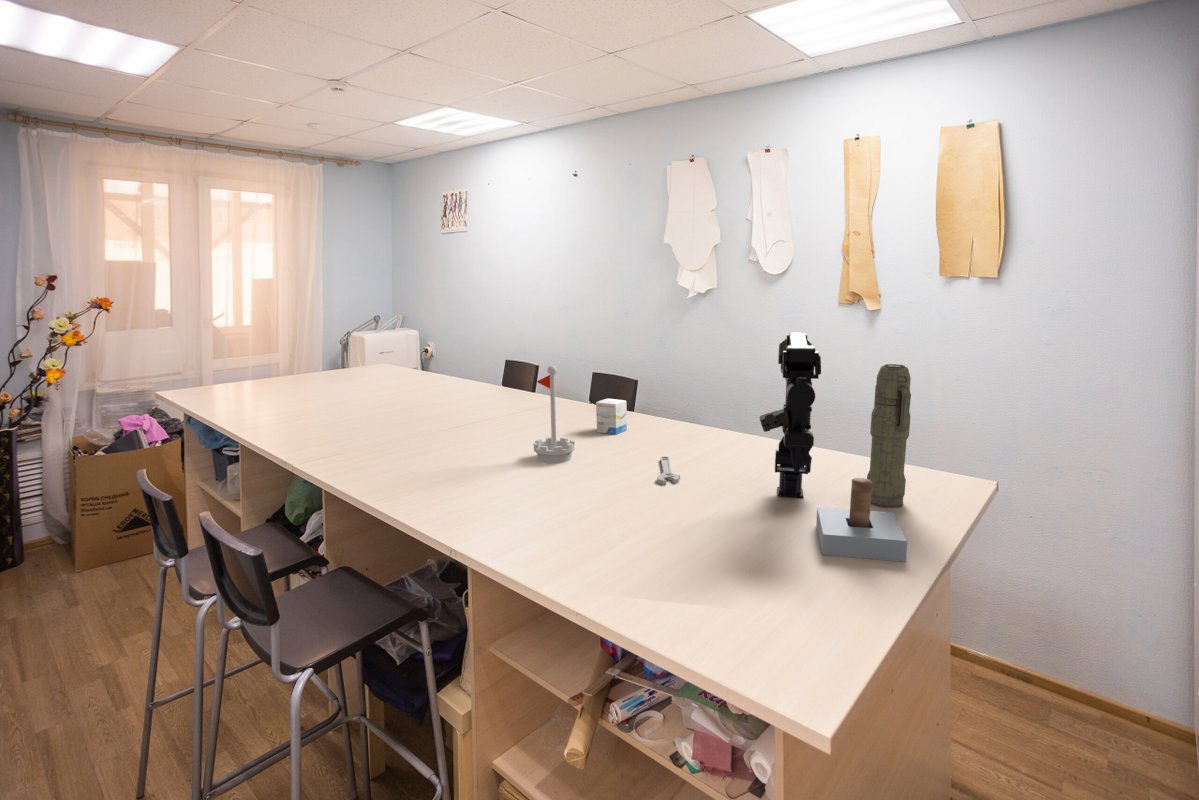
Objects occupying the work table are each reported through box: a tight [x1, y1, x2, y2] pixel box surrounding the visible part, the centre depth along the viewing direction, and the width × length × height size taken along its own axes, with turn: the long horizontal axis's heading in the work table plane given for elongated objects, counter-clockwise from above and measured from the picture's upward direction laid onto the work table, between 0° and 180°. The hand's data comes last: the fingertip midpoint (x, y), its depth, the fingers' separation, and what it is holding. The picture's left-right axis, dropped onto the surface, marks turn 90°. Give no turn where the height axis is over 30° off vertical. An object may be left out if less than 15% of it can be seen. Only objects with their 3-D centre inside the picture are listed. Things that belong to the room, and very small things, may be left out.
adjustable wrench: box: [656, 455, 681, 486], centre depth 193 cm, size 25×6×2 cm, turn 173°
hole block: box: [815, 507, 908, 563], centre depth 140 cm, size 16×16×4 cm
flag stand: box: [533, 365, 576, 464], centre depth 206 cm, size 13×13×30 cm
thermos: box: [866, 363, 912, 509], centre depth 161 cm, size 9×12×35 cm
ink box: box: [595, 398, 628, 435], centre depth 242 cm, size 9×8×12 cm
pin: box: [849, 477, 872, 528], centre depth 139 cm, size 4×4×13 cm
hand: (795, 465), depth 153 cm, fingers open, 9 cm apart
